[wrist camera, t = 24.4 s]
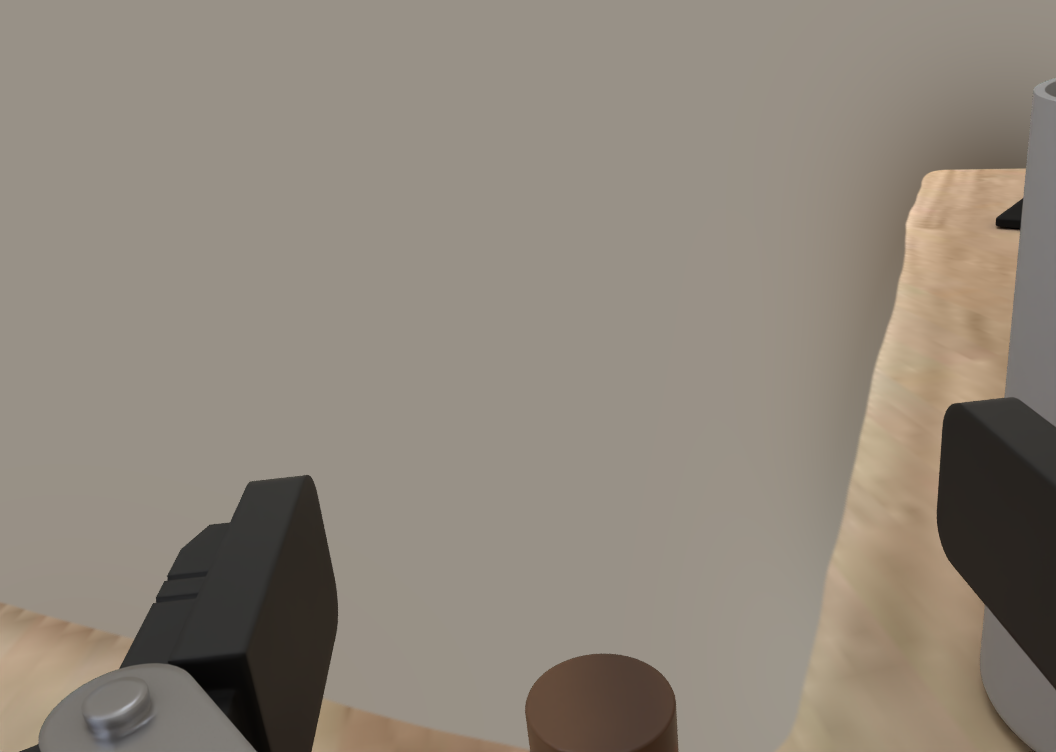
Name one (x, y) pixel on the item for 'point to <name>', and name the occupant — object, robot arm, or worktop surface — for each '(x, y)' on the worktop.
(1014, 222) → the cell phone
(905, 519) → the worktop surface
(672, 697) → the roller
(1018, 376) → the gray pitcher
